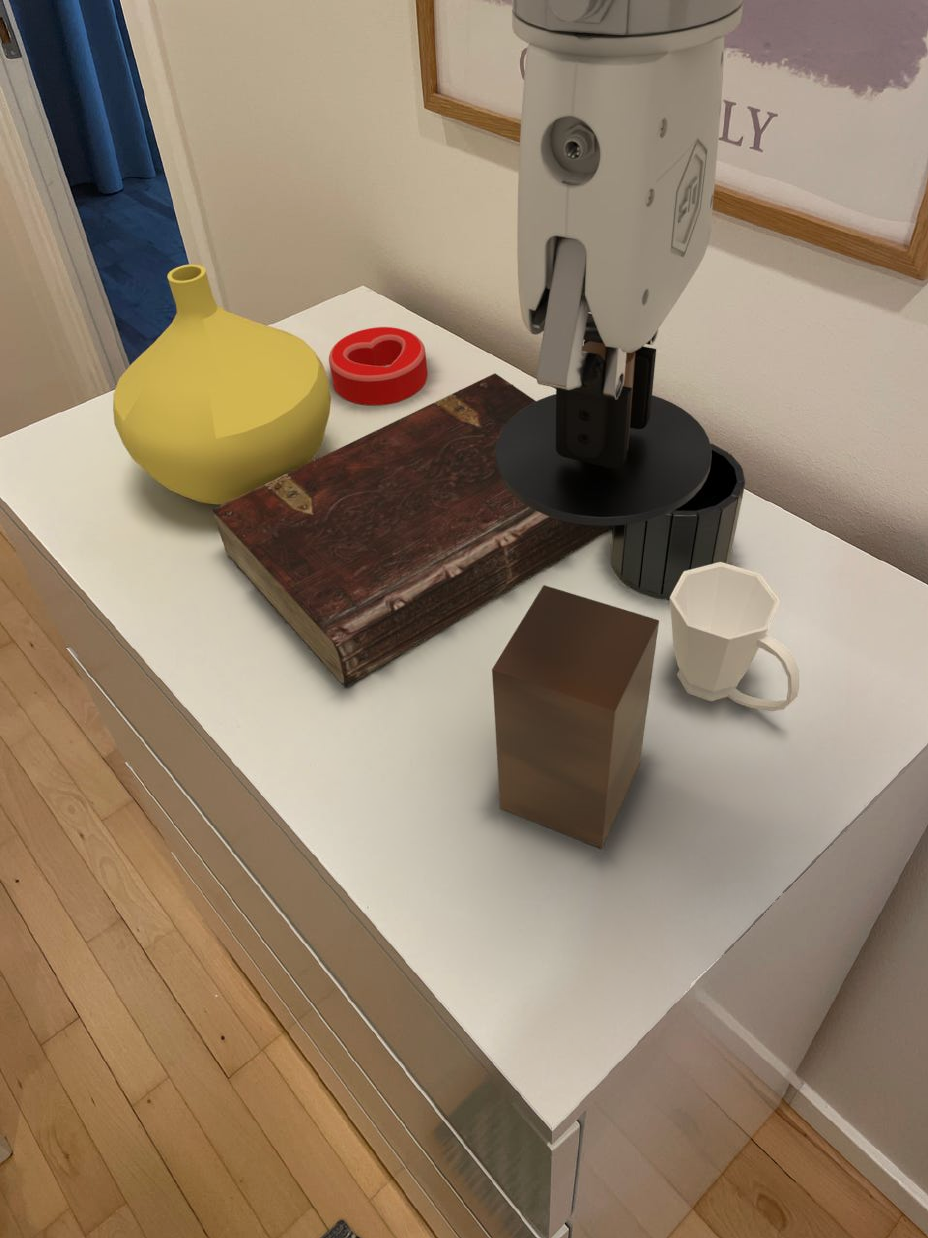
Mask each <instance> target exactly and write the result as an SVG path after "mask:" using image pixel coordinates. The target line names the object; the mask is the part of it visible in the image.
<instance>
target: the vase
mask: <svg viewBox="0 0 928 1238" xmlns="http://www.w3.org/2000/svg"><path fill="white" fill-rule="evenodd" d="M167 280H168V284H169V286H170V289H171V293H172V297H173V300H174V302H175V308H176V314H175V316H174V318H173V320H172V323H170V325H169V326H168V327H167V328H166V329H165V330H164V331H163V332H162V333H161V335H160V336H158V338H157V339H156V340H155V341H154V342H153V343H152V344H151V345H149V347H148V348H147V349H146V350H144V351H143V352H142V353H141V355H139V356H138V357H137V358H136V359H135V360H133V362H132V363H131V364H130V365H129V366H128V367H127V369H126V370H125V371H124V372H123V374H122V375H120V377H119V378H118V381H117V384H116V386H115V388H114V392H113V399H112V400H113V405H112V412H113V422H114V426H115V429H116V431H117V433H118V436H119V438H120V440H121V443H122V445H123V447H124V448H125V450H126V451H127V452H128V454H129V456H130V457H131V460H133V461H134V462H135V463H136V464H138V466H140V467H141V468H142V469H143V470H144V471H145V472H146V473H147V474H148V475H149V476H150V477H151V478H153V479H154V480H155V481H156V482H157V483H159V484H160V485H162V486H163V487H164V488H166V489H168V490H169V491H172V492H173V493H176V494H178V495H180V496H182V497H185V498H187V499H190V500H193V501H195V502H199V503H202V504H209V505H219V506H221V505H223V504H225V503H227V502H229V501H231V500H233V499H235V498H237V497H239V496H242V495H244V494H246V493H248V492H250V491H252V490H254V489H256V488H258V487H260V486H262V485H264V484H266V483H268V482H271V481H273V480H275V479H277V478H279V477H281V476H283V475H285V474H287V473H289V472H291V471H293V470H295V469H297V468H300V467H302V466H304V465H306V464H308V463H310V462H312V461H313V459H314V457H315V456H316V454H317V452H318V450H319V449H320V447H321V445H322V442H323V440H324V436H325V432H326V429H327V424H328V420H329V417H330V412H331V402H332V394H331V389H330V384H329V377H328V374H327V372H326V369H325V366H324V364H323V362H322V361H321V359H320V357H319V356H318V354H317V353H316V351H315V350H314V348H312V347H311V346H310V345H309V344H308V343H307V342H306V341H305V340H304V339H303V338H300V337H299V336H296V335H295V334H293V333H290V332H288V331H286V330H284V329H283V330H282V329H280V328H277V327H273V326H270V325H268V324H264V323H260V322H256V321H254V320H251V319H249V318H245V317H243V316H240V315H238V314H235V313H232V312H229V311H227V310H226V309H224V308H223V307H221V306H220V305H219V304H217V302H216V300H215V298H214V296H213V292H212V288H211V285H210V281H209V278H208V274H207V269H206V268H205V267H204V266H202V265H200V264H195V263H194V264H193V263H192V264H184V265H180V266H177V267H175V268H173V269H172V270H170V271H169V272H168V273H167Z"/></svg>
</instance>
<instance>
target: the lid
mask: <svg viewBox="0 0 928 1238" xmlns="http://www.w3.org/2000/svg"><path fill="white" fill-rule="evenodd" d="M582 349H583V351H585V352H590V353H595V354H599V355H600V356H601V357H602V358H603V359H604V361H605V353H606V346H605V344H603V343H598V342H592V341H590V342H588V343H586V344H585V345H584V344H583V347H582ZM634 366H635V351H634V352H632V353H627V356H626V368H625V379H624V385H623V386H626V387H630V388H632V392H633V379H634ZM535 401H536V402H534V403H532V404H530V405H528V406H527V407H525V408H524V409H522V410H520V411H519V412H518V413H517V414H515V415H514V416H513V417H512V418H511V419H510V420H509V421H508V422H507V424H506V425H505V426H504V428H503V429H502V431H501V432H500V435H499V437H498V440H497V443H496V449H495V455H496V467H497V471H498V474H499V476H500V478H501V480H502V482H503V484H504V485H505V486H506V488H507V489H508V490H509V491H510V492H511V493H512V494H513V495H514V496H515V497H516V498H517V499H518V500H520V501H521V502H522V503H524V504H525V505H527V506H528V507H530V508H532V509H534V510H535V511H537V512H540V513H542V514H544V515H547V516H549V517H552V518H556V519H559V520H562V521H567V522H571V523H576V524H584V525H595V526H614V525H626V524H633V523H638V522H643V521H647V520H651V519H654V518H657V517H660V516H662V515H665V514H667V513H669V512H671V511H673V510H675V509H677V508H679V507H680V506H682V505H683V504H685V503H686V502H687V501H689V500H690V499H691V498H692V497H694V495H695V494H696V493H697V492H698V491H699V490H700V489H701V487H702V486H703V484H704V483H705V481H706V479H707V477H708V474H709V471H710V465H711V458H712V451H711V445H710V444H711V441H710V439H709V436H708V434H707V432H706V430H705V429H704V428H703V426H702V425H701V424H700V422H699V421H698V420H697V419H696V418H695V417H694V416H693V415H691V414H690V413H689V412H688V411H686V410H685V409H683V408H682V407H681V406H678V405H677V404H675V403H673V402H671V401H669V400H667V399H665V398H662V397H659V396H657V395H653V394H652V401H651V412H650V419H649V421H648V423H647V425H646V426H645V427H644V428H643V429H634V428H630V419H629V432H628V445H627V458H626V460H625V462H624V464H623V465H622V467H621V468H619V469H612V468H608V467H603V466H599V465H595V464H591V463H587V462H583V461H578V460H574V459H570V458H566V457H562V456H560V455H559V454H558V453H557V451H556V393H555V394H554V393H553V394H551V395H548V396H545V397H543V398H541V399H538V400H535ZM631 405H632V393H631ZM630 418H631V406H630Z"/></svg>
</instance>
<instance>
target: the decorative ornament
mask: <svg viewBox="0 0 928 1238" xmlns="http://www.w3.org/2000/svg"><path fill="white" fill-rule="evenodd" d="M328 364H329V368H330V374H331V379H332V380H331V381H332V385H333V389H334V391H335V392H336V394H337V395H339V397H341V398H343V399H344V400H346V401H348V402H351V403H353V404H356V405H361V406H384V405H391V404H395V403H399V402H402V401H404V400H406V399H409V398H411V397H413V396H414V395H415V394H417V393H418V392H419V391H421V390H422V388H423V387H424V386H425V384H426V383H427V380H428V375H429V374H428V373H429V372H428V365H427V364H428V363H427V354H426V346H425V345H424V342H423V341H422V340H421V339H420V338H419V337H418V336H417V335H416V334H414V333H413V332H412V331H411V332H410V331H408V330H406V329H402V328H399V327H393V326H377V327H370V328H369V327H368V328H366V329H365V328H364V329H360V330H357V331H355V332H351V333H349V334H347V335H346V336H344V337H342V338H341V339H339V341H337V342H336V343H335V344H334V345H333V347H332V348H331V350H330V352H329V355H328ZM387 365H388V366H387Z"/></svg>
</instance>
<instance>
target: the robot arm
mask: <svg viewBox="0 0 928 1238" xmlns="http://www.w3.org/2000/svg"><path fill="white" fill-rule="evenodd" d="M511 7H512V8H511V26H512V31H513V34H515V36H516V37H517V38H518V39H520V40H521V41H523V42H525V43H527V47H526V53H525V64H524V75H523V77H524V78H523V87H522V88H523V90H522V102H521V103H522V104H521V118H520V137H519V157H518V184H517V223H516V225H517V227H516V229H517V230H516V233H517V234H516V235H517V236H516V237H517V239H516V241H517V242H516V243H517V246H516V247H517V248H516V249H517V250H516V251H517V252H516V253H517V254H516V255H517V257H516V258H517V282H518V283H517V285H518V296H519V307H520V315H521V318H522V322H523V324H524V326H525V328H526V329H527V330H528V332H529V333H530V334H532V335H537V336H538V335H540V334H541V333H542V332H543V333H542V340H541V344H540V345H541V346H540V351H539V358H538V363H537V369H536V370H537V371H536V383H537V384H538V385H540V386H541V385H542V386H546V387H551V388H555V394H556V451H557V453H558V454H559V455H560V456H562V457H566V458H570V459H574V460H578V461H583V462H587V463H591V464H595V465H599V466H603V467H608V468H612V469H619V468H621V467H622V465H623V464H624V462H625V460H626V458H627V445H628V432H629V419H630V428H634V429H643V428H644V427H645V426H646V425H647V423H648V421H649V419H650V412H651V401H652V395H653V389H654V381H655V379H654V378H655V369H656V368H655V367H656V357H657V348H655V347H649V346H653V345H654V344H655V342H656V340H657V337H658V334H659V329H660V327H661V326H662V324H663V323H664V322H665V320H666V318H667V317H668V316H669V314H670V312H671V311H672V309H673V308H674V306H675V305H676V304H677V302H678V300H679V299H680V298H681V296H682V294H683V292H684V291H685V290H686V287H687V286H688V284H689V283H690V281H691V279H692V278H693V276H694V274H696V271H697V270H698V268H699V266H700V265H701V263H702V261H703V259H704V257H705V254H706V252H707V248H708V245H709V242H710V236H711V228H712V218H713V207H714V195H715V183H716V172H717V171H716V170H717V161H718V149H719V148H718V147H719V138H720V137H719V136H720V124H721V123H720V122H721V112H722V95H723V82H724V81H723V79H724V78H723V77H724V59H725V37H727V36H728V35H729V34H731V33H732V32H734V31H735V30H736V29H737V28H738V26H739V25H740V24H741V21H742V19H743V18H742V17H743V9H744V0H511ZM590 341H592V342H598V343H603V344H605V346H606V353H605V361H604V359H603V358H602V357H601V356H600V355H599V354H595V353H590V352H585V351H583V349H582V347H583V345H585V344H586V343H588V342H590ZM645 345H649V346H645ZM634 351H635V366H634V379H633V392H632V388H630V387H626V386H623V385H624V379H625V368H626V356H627V353H632V352H634ZM631 393H632V405H631ZM630 406H631V418H630Z"/></svg>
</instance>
